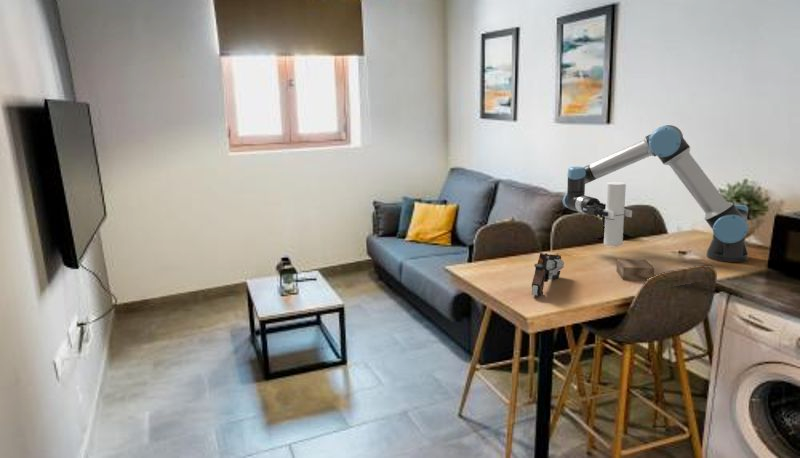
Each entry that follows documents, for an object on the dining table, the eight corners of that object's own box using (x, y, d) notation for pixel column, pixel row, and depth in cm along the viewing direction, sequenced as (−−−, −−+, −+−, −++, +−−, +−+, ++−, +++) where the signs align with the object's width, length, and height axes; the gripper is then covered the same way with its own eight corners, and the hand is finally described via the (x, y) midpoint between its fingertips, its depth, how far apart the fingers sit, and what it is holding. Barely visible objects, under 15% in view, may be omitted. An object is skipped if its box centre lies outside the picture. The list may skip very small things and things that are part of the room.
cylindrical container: (623, 246, 222) (627, 184, 216) (605, 245, 223) (608, 184, 218) (620, 241, 229) (624, 181, 223) (602, 241, 230) (605, 182, 225)
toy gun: (561, 292, 217) (565, 254, 217) (540, 296, 193) (544, 253, 193) (549, 290, 219) (553, 253, 219) (527, 294, 195) (532, 252, 195)
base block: (645, 271, 220) (646, 259, 219) (653, 280, 209) (654, 267, 208) (616, 271, 222) (617, 259, 221) (622, 279, 211) (623, 267, 210)
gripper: (607, 211, 243) (643, 221, 222) (567, 215, 238) (600, 226, 217) (608, 195, 242) (644, 203, 220) (568, 198, 237) (601, 207, 215)
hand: (622, 214), depth 218 cm, fingers closed on cylindrical container, 7 cm apart
